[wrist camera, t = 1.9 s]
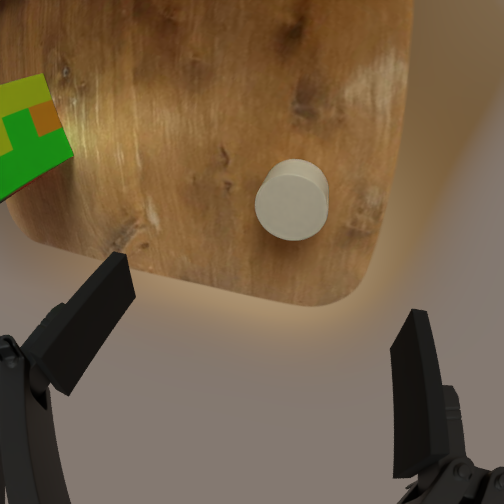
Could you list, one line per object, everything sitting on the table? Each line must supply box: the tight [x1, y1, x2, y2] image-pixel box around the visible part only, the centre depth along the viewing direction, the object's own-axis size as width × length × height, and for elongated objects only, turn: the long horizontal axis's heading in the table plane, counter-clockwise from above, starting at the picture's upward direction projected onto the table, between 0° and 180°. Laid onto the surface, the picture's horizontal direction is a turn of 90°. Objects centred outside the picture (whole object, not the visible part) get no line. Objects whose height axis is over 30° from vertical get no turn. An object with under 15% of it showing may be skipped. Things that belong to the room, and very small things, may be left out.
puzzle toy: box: [0, 74, 74, 203], centre depth 22 cm, size 10×10×10 cm
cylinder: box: [255, 159, 329, 241], centre depth 22 cm, size 5×5×4 cm
